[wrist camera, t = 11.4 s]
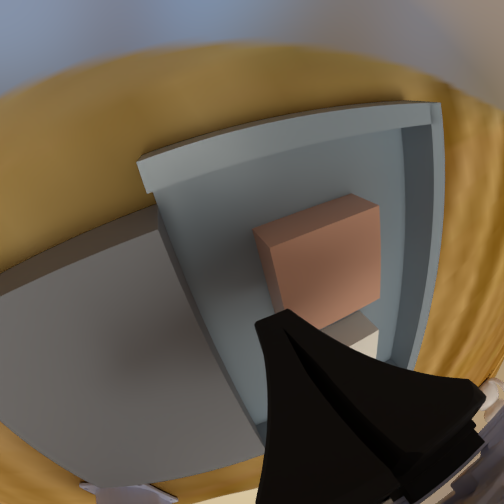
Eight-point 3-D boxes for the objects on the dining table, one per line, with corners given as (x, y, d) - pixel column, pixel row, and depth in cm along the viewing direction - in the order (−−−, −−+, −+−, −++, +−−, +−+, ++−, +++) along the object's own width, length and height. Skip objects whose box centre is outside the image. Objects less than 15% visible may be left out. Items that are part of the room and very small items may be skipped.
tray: (395, 356, 21) (411, 374, 19) (256, 426, 19) (267, 451, 17) (404, 100, 12) (440, 102, 10) (141, 154, 10) (136, 162, 7)
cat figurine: (462, 406, 56) (489, 437, 43) (484, 377, 50) (515, 409, 37) (476, 394, 58) (501, 422, 45) (496, 366, 53) (525, 395, 40)
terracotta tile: (291, 342, 12) (275, 317, 14) (379, 298, 13) (357, 279, 15) (269, 247, 10) (252, 228, 12) (379, 205, 11) (351, 193, 13)
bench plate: (253, 421, 19) (267, 452, 16) (98, 459, 16) (100, 488, 14) (157, 203, 11) (158, 229, 8) (-51, 303, 8) (-74, 336, 6)
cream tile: (309, 412, 16) (296, 391, 18) (373, 377, 17) (358, 359, 19) (300, 371, 14) (285, 346, 15) (378, 329, 14) (359, 310, 16)
